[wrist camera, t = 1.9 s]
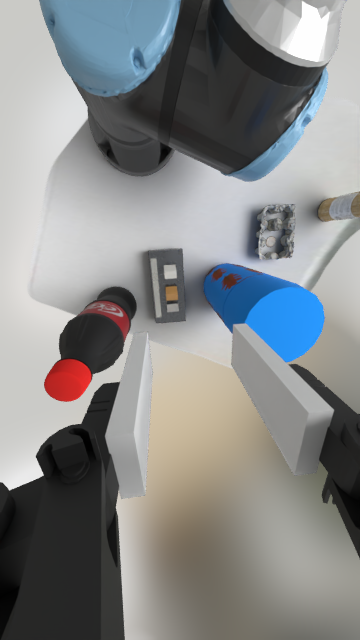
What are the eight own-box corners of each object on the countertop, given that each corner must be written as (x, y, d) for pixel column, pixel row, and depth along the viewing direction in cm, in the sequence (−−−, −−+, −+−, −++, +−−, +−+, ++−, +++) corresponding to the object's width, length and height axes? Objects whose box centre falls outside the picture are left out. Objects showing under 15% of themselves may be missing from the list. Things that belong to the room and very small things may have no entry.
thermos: (193, 285, 48) (223, 327, 25) (229, 252, 46) (298, 265, 23) (221, 316, 52) (271, 379, 28) (256, 287, 50) (340, 329, 26)
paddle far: (166, 305, 46) (166, 304, 43) (177, 304, 46) (178, 303, 44) (167, 312, 46) (167, 312, 43) (178, 311, 46) (178, 311, 44)
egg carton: (282, 258, 48) (292, 260, 44) (250, 258, 47) (258, 260, 44) (291, 206, 44) (303, 203, 40) (257, 206, 43) (266, 203, 40)
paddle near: (163, 265, 42) (164, 271, 40) (175, 264, 43) (176, 271, 41) (164, 272, 44) (164, 279, 41) (175, 271, 44) (176, 278, 42)
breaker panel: (148, 250, 45) (148, 251, 42) (181, 248, 45) (182, 249, 42) (156, 319, 50) (155, 324, 48) (184, 317, 51) (185, 321, 48)
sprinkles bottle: (341, 205, 45) (411, 191, 32) (327, 225, 46) (390, 220, 33) (326, 193, 44) (392, 175, 31) (312, 215, 45) (371, 206, 32)
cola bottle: (112, 276, 46) (39, 334, 18) (145, 298, 48) (123, 378, 20) (93, 306, 48) (0, 399, 20) (125, 325, 50) (81, 433, 22)
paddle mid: (165, 286, 44) (166, 294, 42) (176, 286, 44) (177, 293, 42) (165, 293, 45) (166, 300, 43) (176, 292, 45) (178, 299, 43)
